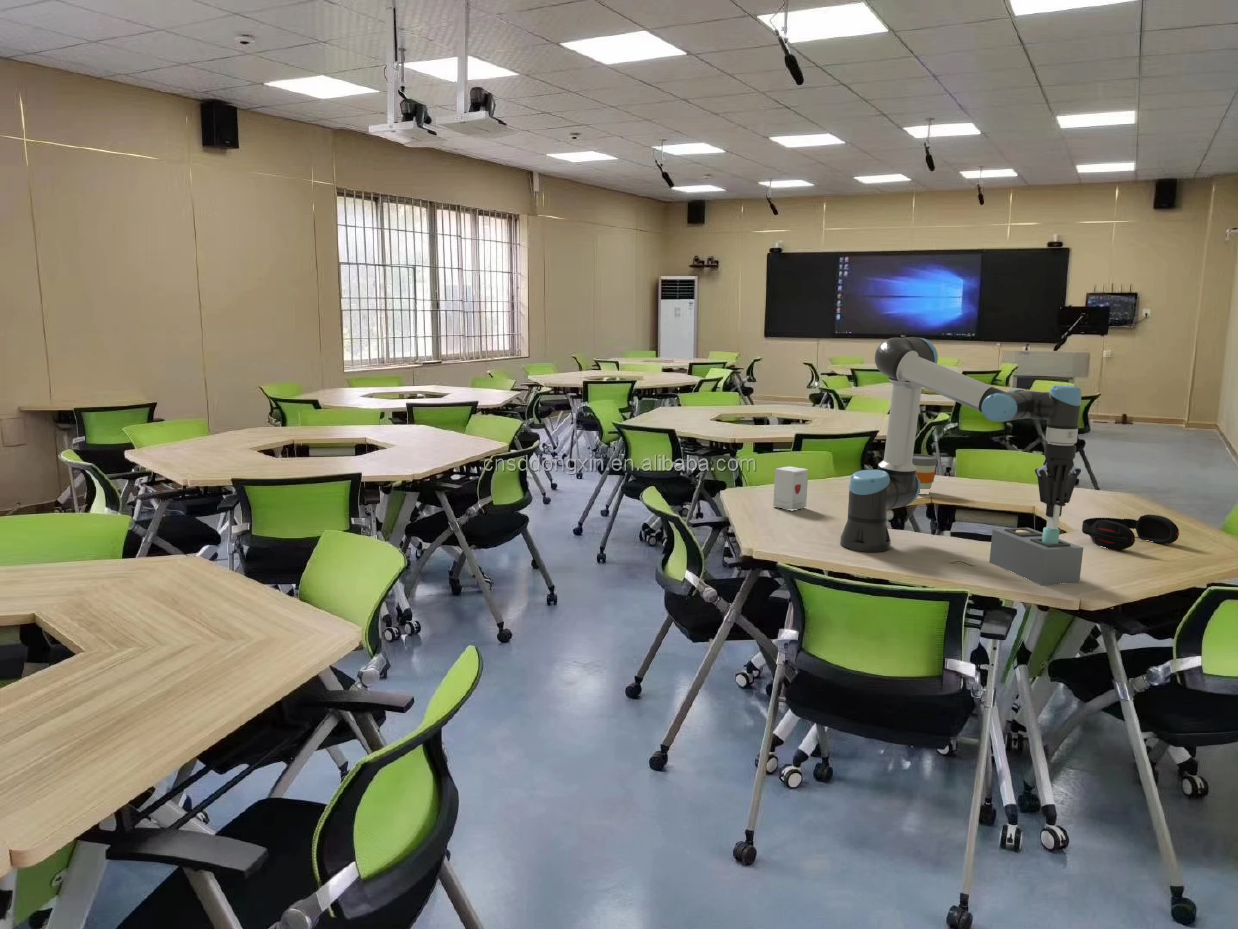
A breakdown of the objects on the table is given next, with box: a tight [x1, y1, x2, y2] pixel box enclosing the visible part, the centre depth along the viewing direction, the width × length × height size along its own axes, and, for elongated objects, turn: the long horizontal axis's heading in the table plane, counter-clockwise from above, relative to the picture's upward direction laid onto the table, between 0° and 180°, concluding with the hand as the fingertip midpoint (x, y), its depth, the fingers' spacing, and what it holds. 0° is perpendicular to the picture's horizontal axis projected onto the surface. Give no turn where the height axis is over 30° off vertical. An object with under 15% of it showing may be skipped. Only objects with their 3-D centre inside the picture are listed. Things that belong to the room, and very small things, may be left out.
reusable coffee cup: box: [912, 453, 938, 489], centre depth 346 cm, size 13×13×15 cm
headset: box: [1081, 514, 1180, 551], centre depth 272 cm, size 28×26×9 cm
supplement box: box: [772, 466, 809, 509], centre depth 315 cm, size 9×9×15 cm
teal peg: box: [1042, 526, 1060, 544], centre depth 234 cm, size 4×4×10 cm
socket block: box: [988, 527, 1084, 586], centre depth 240 cm, size 22×12×10 cm, turn 13°
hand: (1052, 528), depth 233 cm, fingers closed
